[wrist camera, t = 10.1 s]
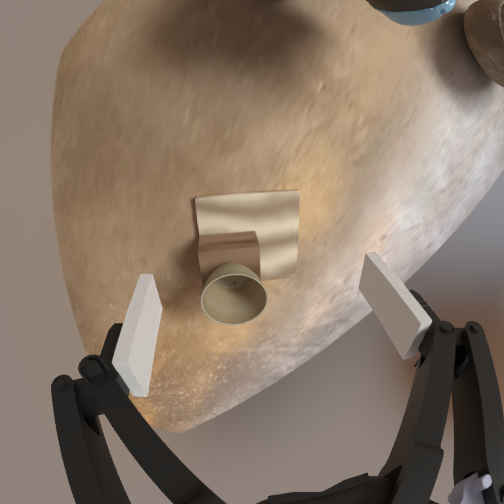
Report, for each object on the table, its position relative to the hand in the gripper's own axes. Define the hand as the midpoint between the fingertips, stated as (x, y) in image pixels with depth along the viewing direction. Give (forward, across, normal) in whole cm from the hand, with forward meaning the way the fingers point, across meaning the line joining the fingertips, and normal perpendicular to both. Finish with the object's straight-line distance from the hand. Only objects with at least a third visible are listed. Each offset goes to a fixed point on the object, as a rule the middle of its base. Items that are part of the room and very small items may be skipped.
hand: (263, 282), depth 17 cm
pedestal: (+32, -2, -17) cm, 36 cm away
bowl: (+33, +60, +35) cm, 76 cm away
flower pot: (+26, -2, -17) cm, 31 cm away
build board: (+33, +2, -14) cm, 36 cm away
